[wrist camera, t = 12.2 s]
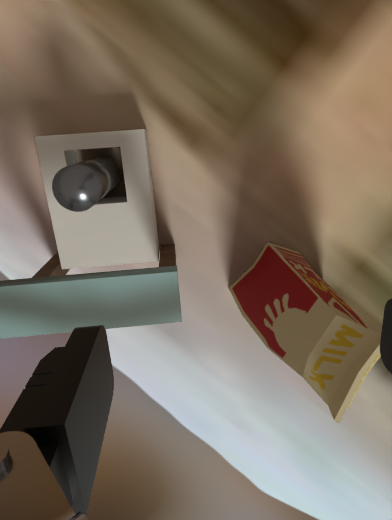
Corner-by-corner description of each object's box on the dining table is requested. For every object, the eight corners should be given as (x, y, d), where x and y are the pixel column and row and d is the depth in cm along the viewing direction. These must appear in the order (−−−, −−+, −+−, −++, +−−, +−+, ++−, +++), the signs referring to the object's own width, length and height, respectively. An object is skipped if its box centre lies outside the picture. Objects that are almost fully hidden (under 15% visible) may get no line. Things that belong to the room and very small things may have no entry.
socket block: (48, 136, 35) (34, 136, 32) (146, 129, 36) (144, 129, 32) (72, 256, 40) (61, 269, 36) (159, 249, 40) (158, 261, 36)
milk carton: (280, 328, 45) (360, 465, 26) (225, 290, 43) (269, 410, 24) (329, 275, 43) (454, 382, 24) (274, 231, 41) (365, 313, 22)
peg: (90, 190, 38) (57, 213, 26) (85, 157, 36) (47, 167, 25) (122, 188, 38) (102, 210, 26) (118, 155, 37) (95, 163, 25)
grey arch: (48, 233, 39) (-23, 288, 24) (174, 223, 39) (177, 271, 25) (56, 267, 40) (-7, 339, 26) (177, 257, 41) (181, 321, 26)
